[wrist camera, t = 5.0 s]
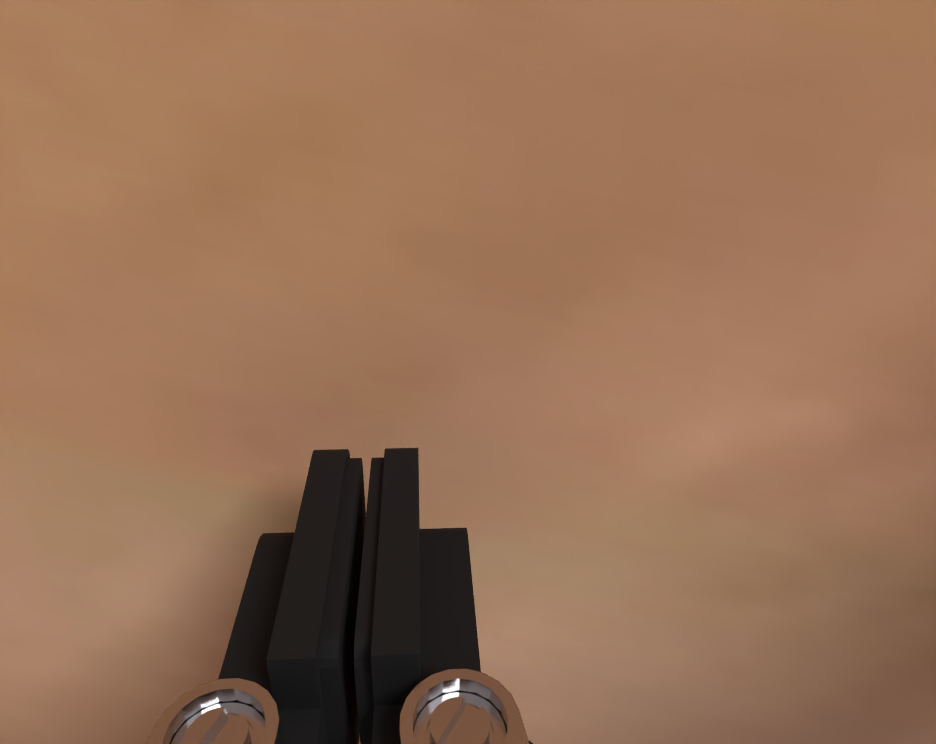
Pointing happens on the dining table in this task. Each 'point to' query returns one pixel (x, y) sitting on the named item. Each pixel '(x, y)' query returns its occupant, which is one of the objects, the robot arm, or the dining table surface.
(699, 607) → the dining table surface
